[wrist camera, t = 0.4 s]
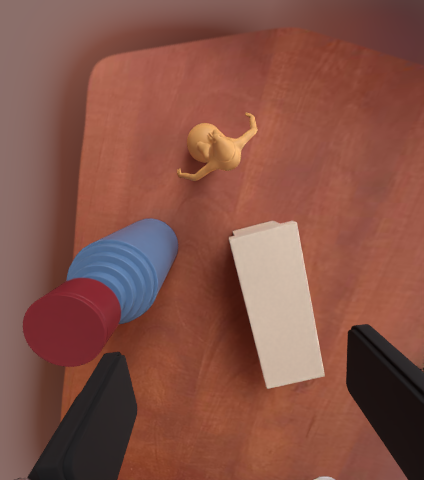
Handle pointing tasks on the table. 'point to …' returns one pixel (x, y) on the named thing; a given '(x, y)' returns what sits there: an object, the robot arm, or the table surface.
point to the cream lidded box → (278, 301)
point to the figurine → (215, 148)
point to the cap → (72, 322)
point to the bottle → (130, 264)
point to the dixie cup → (324, 478)
